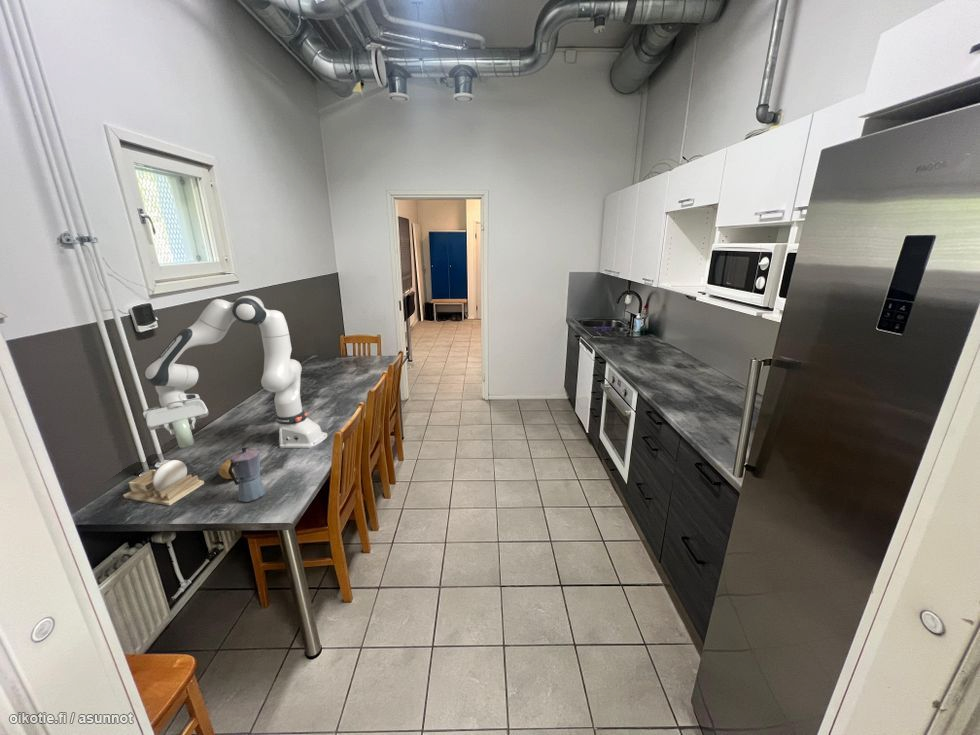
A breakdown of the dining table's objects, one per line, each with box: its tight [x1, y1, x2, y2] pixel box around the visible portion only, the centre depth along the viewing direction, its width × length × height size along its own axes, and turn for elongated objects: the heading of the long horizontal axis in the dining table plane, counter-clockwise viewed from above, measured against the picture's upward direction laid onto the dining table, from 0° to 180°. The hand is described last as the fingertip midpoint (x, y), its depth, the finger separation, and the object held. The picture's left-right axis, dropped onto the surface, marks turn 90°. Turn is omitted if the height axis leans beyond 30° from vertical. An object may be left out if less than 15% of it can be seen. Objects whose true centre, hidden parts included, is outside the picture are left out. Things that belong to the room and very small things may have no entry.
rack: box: [123, 459, 205, 506], centre depth 147 cm, size 22×14×13 cm, turn 77°
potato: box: [218, 458, 238, 480], centre depth 158 cm, size 10×14×8 cm
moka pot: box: [228, 447, 266, 503], centre depth 142 cm, size 10×15×20 cm, turn 2°
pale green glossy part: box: [171, 418, 195, 449], centre depth 158 cm, size 5×5×11 cm
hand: (182, 431), depth 157 cm, fingers closed on pale green glossy part, 5 cm apart
